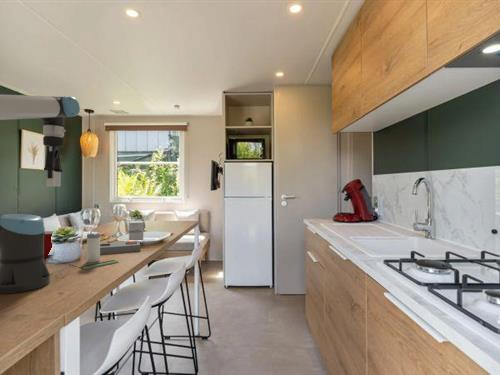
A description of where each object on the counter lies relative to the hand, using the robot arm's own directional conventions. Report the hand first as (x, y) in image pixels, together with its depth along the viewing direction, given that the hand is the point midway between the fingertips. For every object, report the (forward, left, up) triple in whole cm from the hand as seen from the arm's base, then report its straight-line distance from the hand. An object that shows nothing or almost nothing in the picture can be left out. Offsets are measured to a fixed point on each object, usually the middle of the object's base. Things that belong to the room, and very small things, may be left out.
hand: (53, 186), depth 126 cm
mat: (+10, -14, -33) cm, 37 cm away
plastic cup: (+2, +14, -33) cm, 36 cm away
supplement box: (+46, +10, -33) cm, 57 cm away
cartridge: (+10, -14, -32) cm, 36 cm away
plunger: (+33, -6, -31) cm, 46 cm away
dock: (+27, -2, -33) cm, 42 cm away
